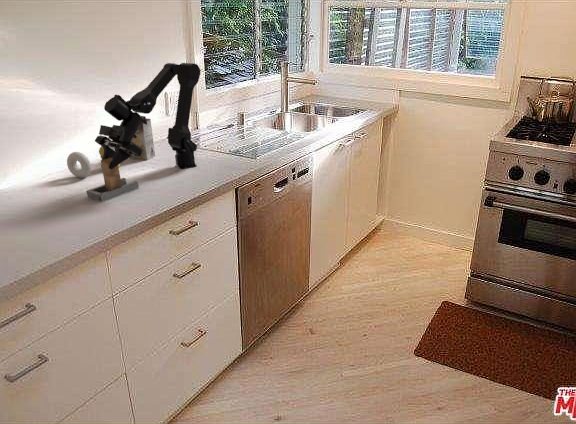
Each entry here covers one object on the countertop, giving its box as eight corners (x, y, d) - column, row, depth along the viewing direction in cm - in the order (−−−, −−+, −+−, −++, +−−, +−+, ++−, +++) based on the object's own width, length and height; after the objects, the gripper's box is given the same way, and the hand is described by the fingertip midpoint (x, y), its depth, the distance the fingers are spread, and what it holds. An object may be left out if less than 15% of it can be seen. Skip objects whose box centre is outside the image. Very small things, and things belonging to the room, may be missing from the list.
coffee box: (128, 158, 208) (122, 120, 202) (137, 154, 214) (131, 117, 207) (147, 160, 205) (141, 121, 199) (156, 155, 211) (150, 118, 204)
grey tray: (124, 184, 179) (123, 177, 178) (138, 188, 175) (137, 181, 174) (87, 197, 168) (86, 190, 167) (102, 202, 164) (100, 195, 163)
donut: (95, 177, 188) (90, 151, 184) (88, 180, 185) (83, 154, 181) (74, 174, 191) (69, 149, 187) (67, 177, 188) (62, 152, 184)
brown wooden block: (115, 185, 173) (110, 157, 169) (121, 186, 172) (117, 159, 168) (105, 188, 171) (100, 160, 167) (112, 190, 169) (106, 162, 165)
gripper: (94, 112, 169) (71, 151, 166) (129, 117, 159) (106, 160, 155) (117, 129, 178) (96, 167, 175) (152, 136, 168) (130, 176, 164)
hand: (106, 167), depth 167 cm, fingers closed on brown wooden block, 3 cm apart
